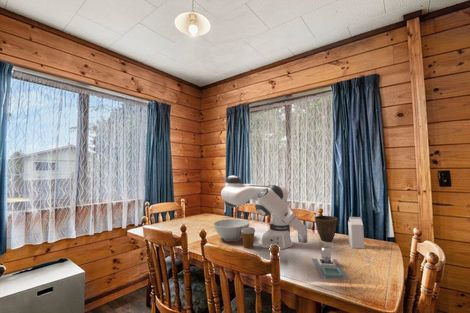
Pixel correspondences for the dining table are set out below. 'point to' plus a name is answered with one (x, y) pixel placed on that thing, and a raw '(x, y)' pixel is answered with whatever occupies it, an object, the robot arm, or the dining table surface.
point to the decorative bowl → (230, 228)
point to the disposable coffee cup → (248, 237)
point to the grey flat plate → (330, 270)
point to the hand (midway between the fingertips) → (303, 232)
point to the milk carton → (356, 232)
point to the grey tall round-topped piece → (326, 255)
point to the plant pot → (326, 227)
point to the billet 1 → (302, 236)
